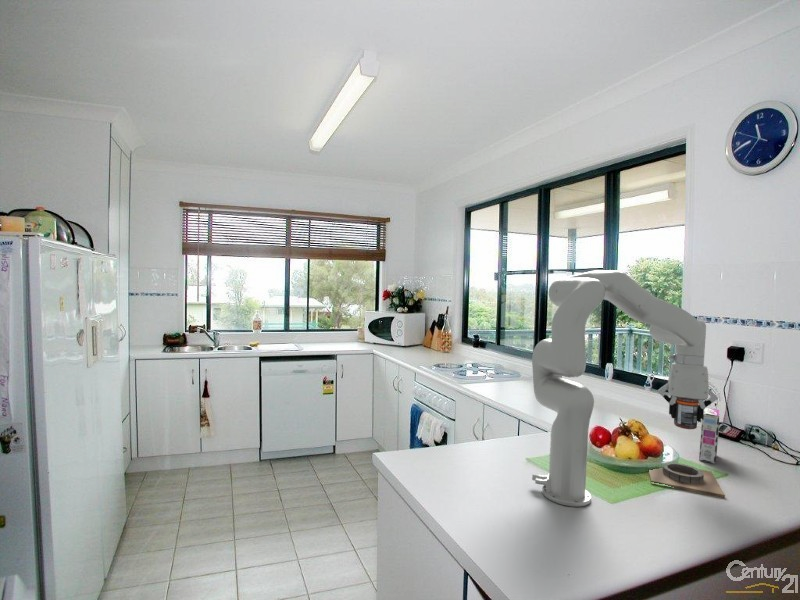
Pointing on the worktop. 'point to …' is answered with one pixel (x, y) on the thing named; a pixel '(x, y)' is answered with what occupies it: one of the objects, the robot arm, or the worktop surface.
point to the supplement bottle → (686, 413)
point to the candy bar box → (709, 435)
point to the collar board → (687, 479)
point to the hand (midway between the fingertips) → (685, 418)
